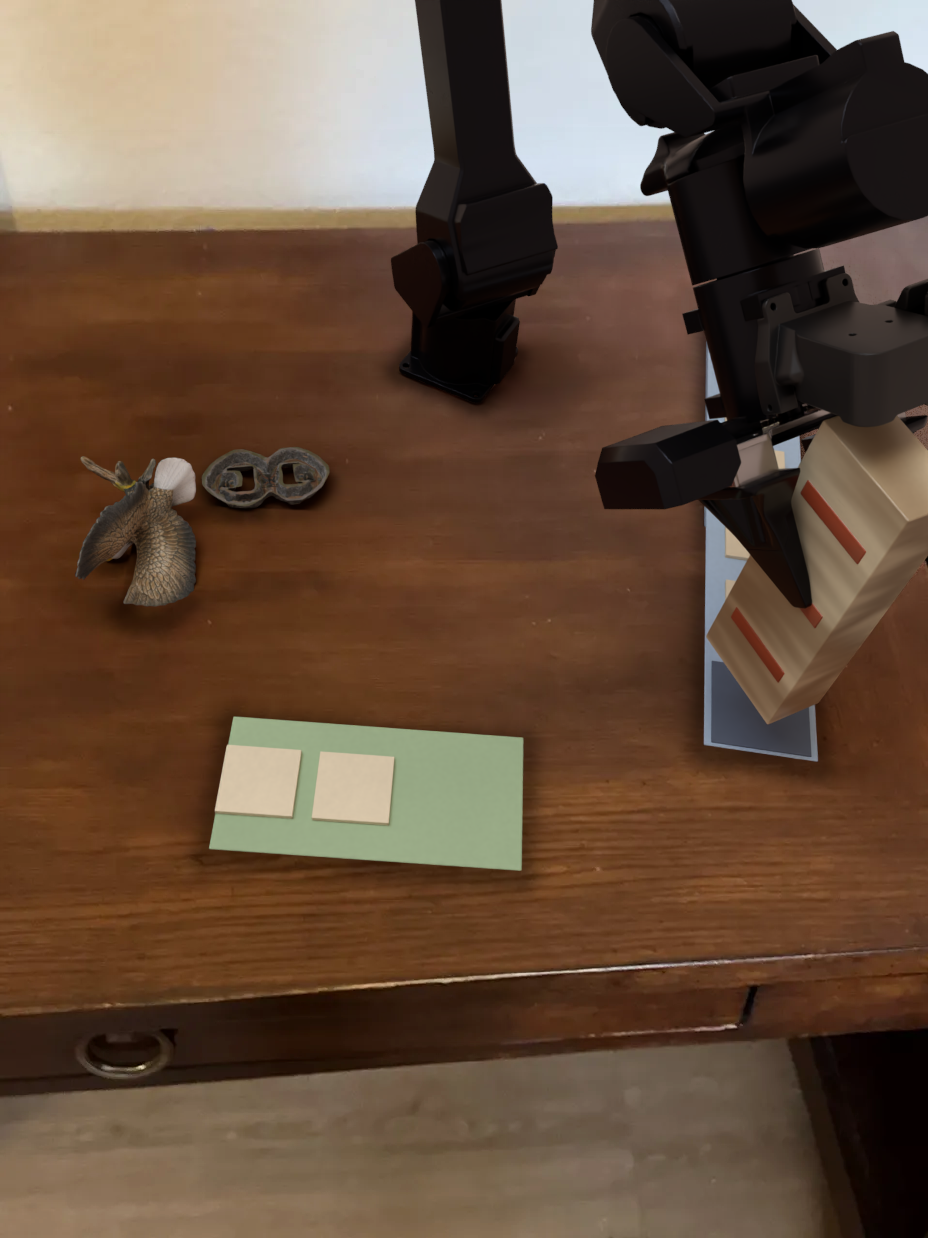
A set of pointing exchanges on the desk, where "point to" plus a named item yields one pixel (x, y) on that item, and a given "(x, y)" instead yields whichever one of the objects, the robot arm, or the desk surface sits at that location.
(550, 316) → the desk surface
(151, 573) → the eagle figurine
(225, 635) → the desk surface
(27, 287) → the desk surface
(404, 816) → the left mat
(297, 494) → the corroded twin loop
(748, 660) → the red striped wooden block
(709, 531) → the right mat
